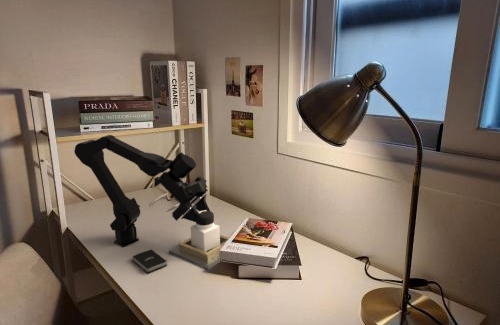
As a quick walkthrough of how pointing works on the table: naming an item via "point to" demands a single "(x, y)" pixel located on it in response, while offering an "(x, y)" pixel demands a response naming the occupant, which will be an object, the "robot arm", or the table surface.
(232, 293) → the table surface
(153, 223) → the table surface
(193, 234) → the medicine bottle
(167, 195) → the sunglasses
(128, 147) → the robot arm
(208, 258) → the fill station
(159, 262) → the external hard drive
